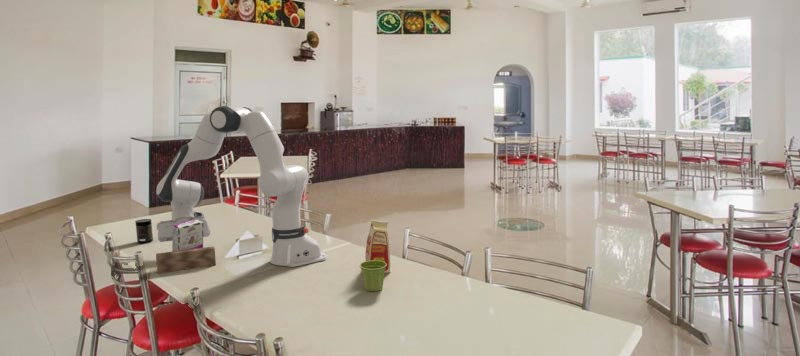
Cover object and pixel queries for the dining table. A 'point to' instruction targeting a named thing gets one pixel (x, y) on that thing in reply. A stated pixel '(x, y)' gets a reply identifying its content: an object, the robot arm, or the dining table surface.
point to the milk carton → (378, 244)
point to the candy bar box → (187, 235)
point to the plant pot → (373, 274)
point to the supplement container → (144, 231)
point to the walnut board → (185, 259)
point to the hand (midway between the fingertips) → (185, 247)
